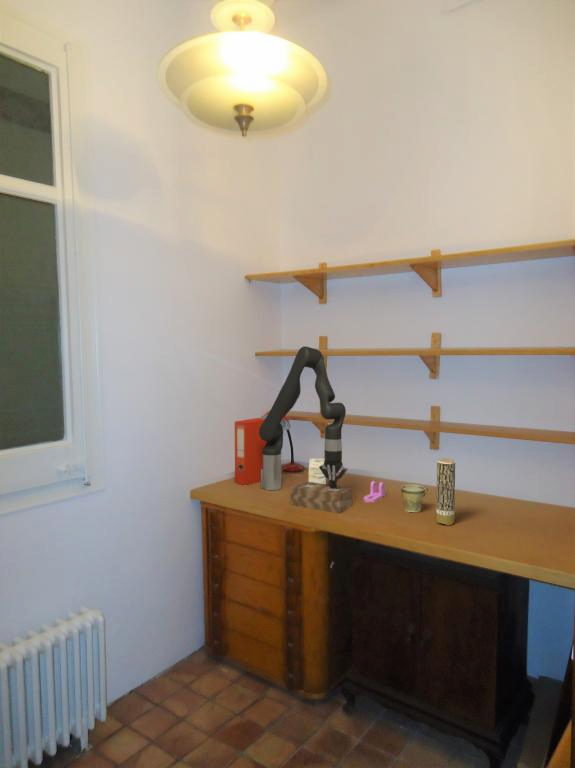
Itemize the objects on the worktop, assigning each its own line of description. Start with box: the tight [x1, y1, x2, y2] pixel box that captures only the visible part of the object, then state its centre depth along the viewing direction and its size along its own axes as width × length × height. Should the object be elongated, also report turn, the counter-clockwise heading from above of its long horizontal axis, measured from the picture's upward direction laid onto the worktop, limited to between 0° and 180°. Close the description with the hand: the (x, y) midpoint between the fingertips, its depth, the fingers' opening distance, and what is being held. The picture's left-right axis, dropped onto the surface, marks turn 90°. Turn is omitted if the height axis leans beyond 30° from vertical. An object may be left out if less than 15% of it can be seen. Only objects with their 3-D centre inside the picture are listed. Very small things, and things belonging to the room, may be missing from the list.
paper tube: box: [435, 458, 456, 524], centre depth 206 cm, size 7×7×25 cm
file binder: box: [234, 417, 267, 486], centre depth 271 cm, size 8×17×32 cm, turn 139°
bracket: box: [363, 480, 386, 503], centre depth 240 cm, size 13×6×7 cm, turn 146°
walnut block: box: [290, 480, 353, 514], centre depth 230 cm, size 24×12×8 cm, turn 59°
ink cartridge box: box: [308, 457, 327, 484], centre depth 257 cm, size 9×5×15 cm, turn 84°
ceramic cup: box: [400, 484, 429, 513], centre depth 223 cm, size 13×10×10 cm
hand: (333, 488), depth 227 cm, fingers closed
